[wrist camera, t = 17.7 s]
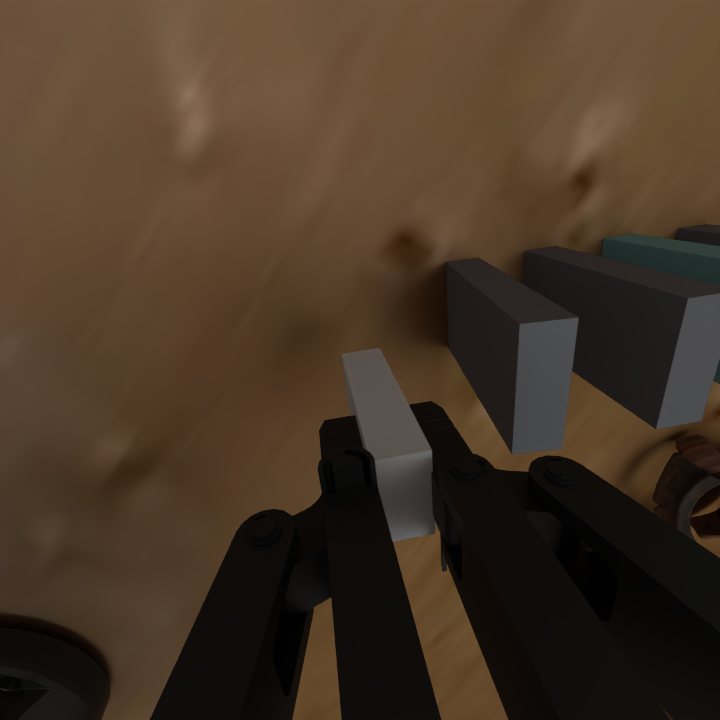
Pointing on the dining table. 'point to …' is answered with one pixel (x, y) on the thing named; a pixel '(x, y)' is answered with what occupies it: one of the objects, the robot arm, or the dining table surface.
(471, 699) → the dining table surface
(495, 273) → the domino
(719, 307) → the domino
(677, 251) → the teal domino
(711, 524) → the pottery mug
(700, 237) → the domino
